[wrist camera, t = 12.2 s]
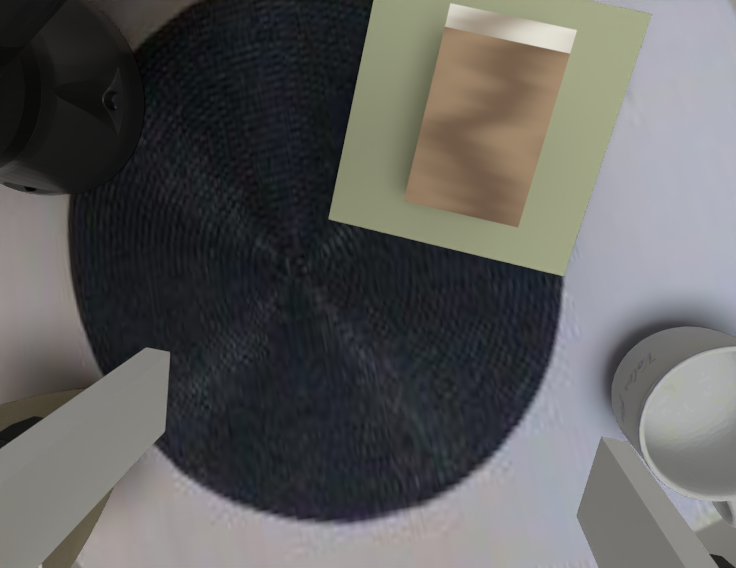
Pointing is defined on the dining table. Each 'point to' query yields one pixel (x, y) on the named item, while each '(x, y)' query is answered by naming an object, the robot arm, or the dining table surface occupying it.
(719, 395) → the teacup
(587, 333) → the dining table surface
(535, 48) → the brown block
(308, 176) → the dining table surface
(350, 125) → the olive mat
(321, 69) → the dining table surface
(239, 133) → the dining table surface
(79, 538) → the plant pot
